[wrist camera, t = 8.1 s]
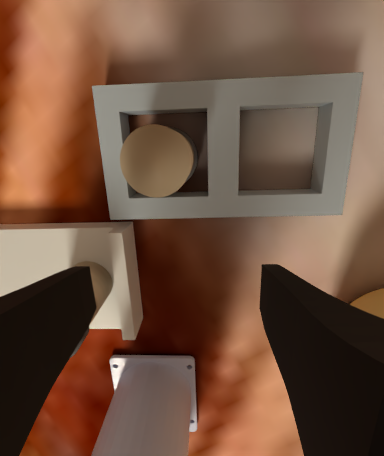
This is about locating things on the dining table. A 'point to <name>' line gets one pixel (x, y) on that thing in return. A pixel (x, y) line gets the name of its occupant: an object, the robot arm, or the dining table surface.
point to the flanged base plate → (73, 254)
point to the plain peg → (97, 289)
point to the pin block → (232, 143)
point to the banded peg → (158, 160)
